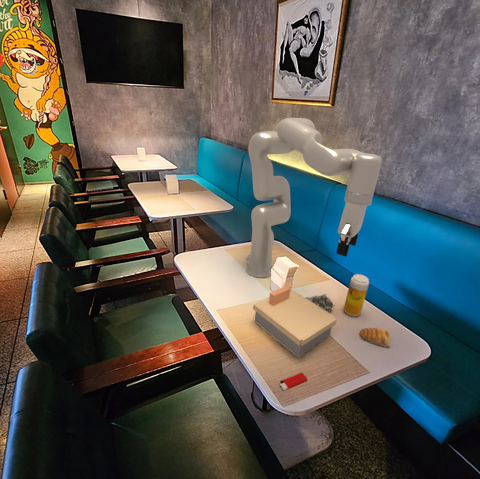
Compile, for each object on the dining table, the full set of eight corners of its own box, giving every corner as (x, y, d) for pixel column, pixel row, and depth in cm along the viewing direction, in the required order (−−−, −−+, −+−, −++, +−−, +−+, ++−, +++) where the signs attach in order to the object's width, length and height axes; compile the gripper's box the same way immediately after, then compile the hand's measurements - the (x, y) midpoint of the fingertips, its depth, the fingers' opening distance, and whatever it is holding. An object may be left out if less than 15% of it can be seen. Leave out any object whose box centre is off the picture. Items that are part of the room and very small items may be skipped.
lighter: (307, 379, 84) (283, 389, 80) (306, 382, 84) (283, 392, 81) (301, 371, 86) (277, 381, 83) (300, 374, 87) (277, 384, 83)
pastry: (359, 342, 100) (362, 333, 98) (358, 329, 106) (360, 320, 104) (390, 349, 98) (393, 340, 96) (386, 335, 104) (389, 326, 102)
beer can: (339, 309, 115) (348, 275, 109) (352, 305, 118) (361, 272, 111) (351, 318, 110) (360, 284, 104) (363, 315, 113) (373, 281, 106)
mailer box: (254, 321, 106) (256, 306, 103) (285, 305, 115) (288, 291, 112) (297, 357, 92) (300, 340, 89) (329, 336, 101) (333, 320, 98)
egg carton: (309, 317, 110) (311, 308, 108) (300, 304, 117) (301, 295, 115) (334, 312, 113) (337, 303, 112) (324, 300, 120) (326, 292, 118)
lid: (253, 309, 103) (254, 294, 100) (288, 292, 114) (291, 278, 111) (300, 346, 88) (303, 330, 86) (336, 323, 99) (340, 308, 96)
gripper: (353, 189, 97) (342, 237, 104) (336, 200, 84) (325, 255, 91) (378, 194, 93) (364, 244, 100) (364, 207, 80) (350, 263, 87)
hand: (346, 249), depth 96 cm, fingers open, 9 cm apart
